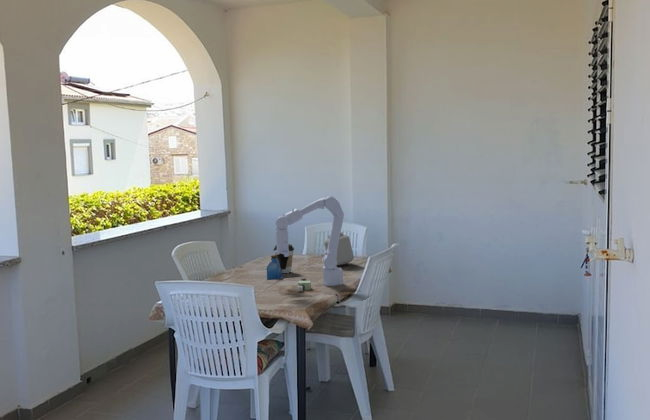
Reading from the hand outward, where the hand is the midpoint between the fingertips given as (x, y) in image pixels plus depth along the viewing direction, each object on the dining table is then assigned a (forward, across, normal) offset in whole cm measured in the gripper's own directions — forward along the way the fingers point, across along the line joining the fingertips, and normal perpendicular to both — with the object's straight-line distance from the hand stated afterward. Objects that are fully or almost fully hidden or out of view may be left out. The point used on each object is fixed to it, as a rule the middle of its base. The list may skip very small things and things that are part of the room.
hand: (283, 269), depth 293 cm
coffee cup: (+10, -37, +11) cm, 40 cm away
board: (+9, +10, +4) cm, 14 cm away
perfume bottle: (+10, -24, +2) cm, 26 cm away
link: (+8, +9, +7) cm, 14 cm away
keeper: (+8, +11, +7) cm, 15 cm away
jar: (+10, -44, +45) cm, 64 cm away
